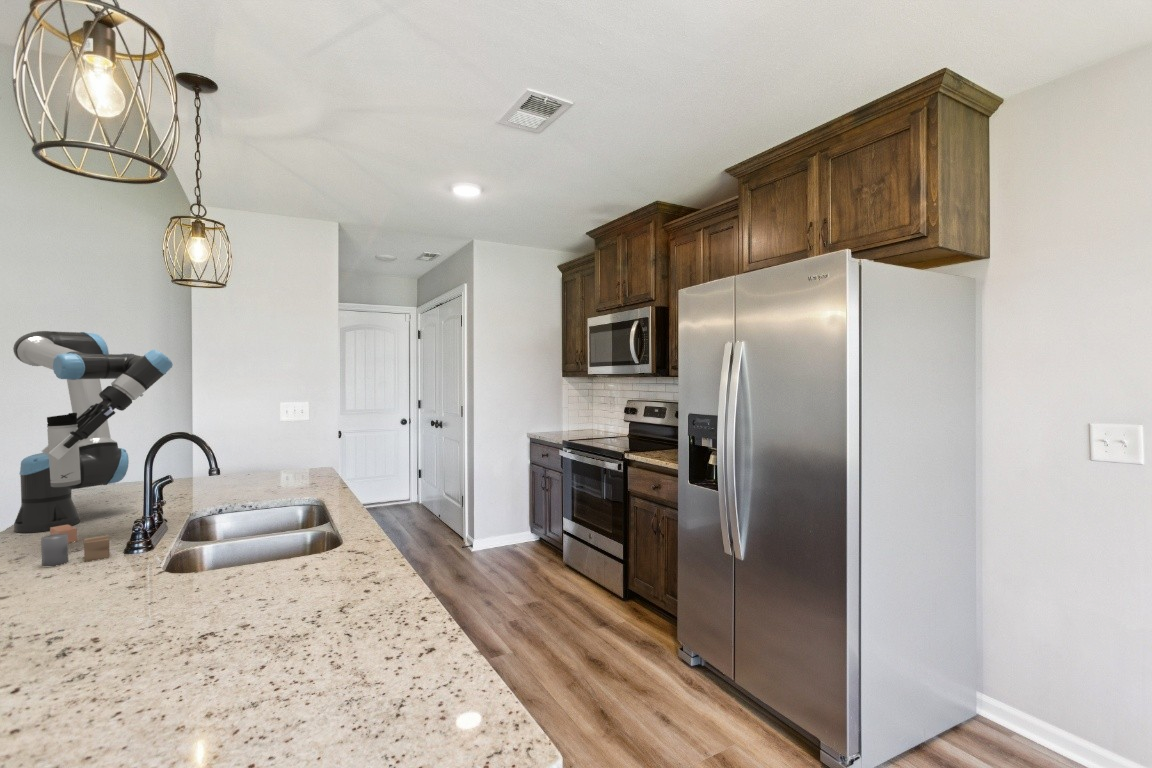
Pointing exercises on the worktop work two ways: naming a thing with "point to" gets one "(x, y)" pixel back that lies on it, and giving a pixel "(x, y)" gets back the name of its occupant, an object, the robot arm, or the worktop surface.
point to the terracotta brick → (65, 532)
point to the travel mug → (68, 464)
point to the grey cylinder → (54, 549)
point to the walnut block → (96, 548)
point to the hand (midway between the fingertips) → (49, 455)
